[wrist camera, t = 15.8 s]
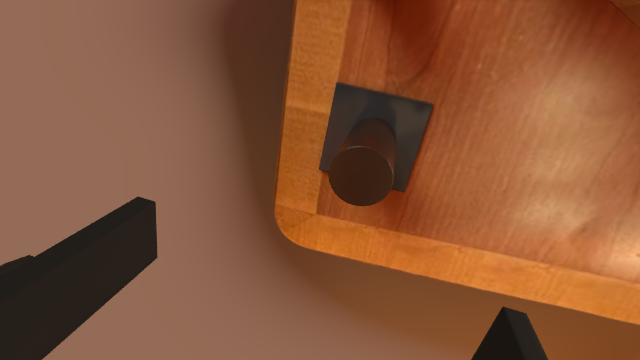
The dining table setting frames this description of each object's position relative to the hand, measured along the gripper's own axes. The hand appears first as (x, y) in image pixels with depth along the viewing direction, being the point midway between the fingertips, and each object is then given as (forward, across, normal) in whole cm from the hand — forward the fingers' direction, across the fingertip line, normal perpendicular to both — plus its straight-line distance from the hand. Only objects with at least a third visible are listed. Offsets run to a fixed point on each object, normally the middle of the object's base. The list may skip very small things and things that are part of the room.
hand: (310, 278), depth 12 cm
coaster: (+25, +1, -1) cm, 25 cm away
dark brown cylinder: (+25, +1, -1) cm, 25 cm away
